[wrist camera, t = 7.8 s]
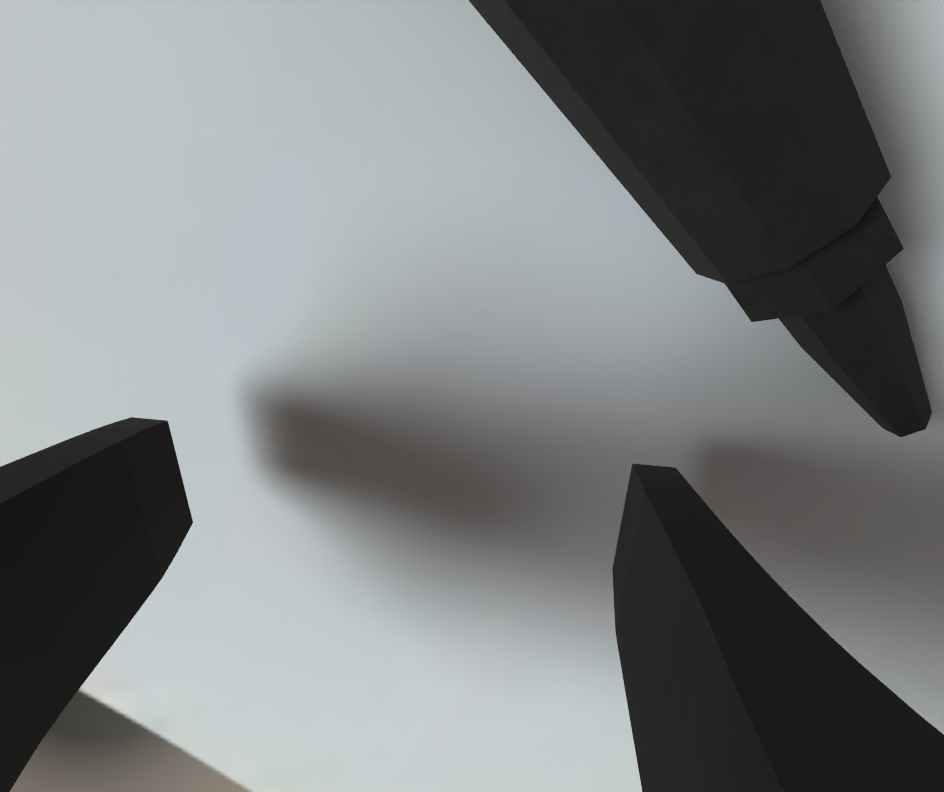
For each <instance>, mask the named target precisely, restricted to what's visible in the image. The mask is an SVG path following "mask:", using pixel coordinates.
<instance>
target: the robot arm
mask: <svg viewBox="0 0 944 792" xmlns="http://www.w3.org/2000/svg"><path fill="white" fill-rule="evenodd" d="M192 523H193V521H192V517H191V513H190V509H189V505H188V501H187V497H186V493H185V489H184V485H183V481H182V477H181V473H180V469H179V465H178V461H177V457H176V453H175V449H174V445H173V441H172V437H171V433H170V429H169V425H168V421H164V420H153V419H142V418H128V419H125V420H121V421H118V422H115V423H112V424H109V425H106V426H103V427H100V428H97V429H95V430H92V431H89V432H86V433H84V434H81V435H79V436H76V437H73V438H71V439H68V440H66V441H63V442H61V443H58V444H56V445H53V446H51V447H48V448H46V449H43V450H41V451H38V452H36V453H33V454H31V455H29V456H26V457H24V458H21V459H19V460H16V461H14V462H11V463H9V464H6V465H4V466H1V467H0V792H9V791H10V790H11V788H12V787H13V785H14V783H15V782H16V780H17V779H18V777H19V775H20V774H21V772H22V771H23V769H24V767H25V766H26V764H27V763H28V761H29V759H30V758H31V756H32V755H33V753H34V751H35V750H36V748H37V747H38V745H39V744H40V742H41V741H42V739H43V737H44V736H45V735H46V733H47V732H48V730H49V729H50V728H51V726H52V725H53V723H54V722H55V721H56V719H57V718H58V716H59V715H60V713H61V712H62V711H63V709H64V708H65V707H66V705H67V704H68V703H69V701H70V700H71V699H72V697H73V696H74V695H75V693H76V692H77V691H78V689H79V688H80V687H81V685H82V684H83V683H84V682H85V680H86V679H87V678H88V676H89V675H90V674H91V672H92V671H93V670H94V668H95V667H96V666H97V664H98V663H99V662H100V660H101V659H102V658H103V656H104V655H105V654H106V653H107V651H108V650H109V649H110V647H111V646H112V645H113V643H114V642H115V641H116V639H117V638H118V637H119V635H120V634H121V633H122V631H123V630H124V629H125V628H126V626H127V625H128V624H129V622H130V621H131V620H132V618H133V617H134V616H135V614H136V613H137V611H138V610H139V609H140V607H141V606H142V605H143V603H144V602H145V601H146V599H147V598H148V597H149V595H150V594H151V593H152V591H153V590H154V588H155V587H156V586H157V584H158V583H159V582H160V580H161V579H162V577H163V576H164V574H165V572H166V570H167V569H168V567H169V565H170V564H171V562H172V560H173V558H174V557H175V555H176V553H177V552H178V550H179V548H180V546H181V544H182V542H183V540H184V538H185V536H186V535H187V533H188V531H189V529H190V527H191V525H192ZM613 587H614V609H615V627H616V636H617V643H618V649H619V655H620V661H621V667H622V673H623V680H624V686H625V692H626V697H627V703H628V709H629V715H630V721H631V727H632V733H633V739H634V745H635V750H636V756H637V762H638V768H639V774H640V780H641V786H642V792H944V735H943V734H942V733H941V732H940V731H938V730H937V729H936V728H935V727H933V726H932V725H931V724H930V723H928V722H927V721H926V720H925V719H924V718H922V717H921V716H920V715H919V714H918V713H916V712H915V711H914V710H913V709H912V708H911V707H909V706H908V705H907V704H906V703H905V702H904V701H903V700H901V699H900V698H899V697H898V696H897V695H896V694H894V693H893V692H892V691H891V690H890V689H889V688H888V687H886V686H885V685H884V684H883V683H882V682H881V681H879V680H878V679H877V678H876V677H875V676H874V675H873V674H871V673H870V672H869V671H868V670H867V669H866V668H864V667H863V666H862V665H861V664H860V663H859V662H858V661H856V660H855V659H854V658H853V657H852V656H851V655H850V654H849V653H848V652H847V651H846V650H845V649H843V648H842V647H841V646H840V645H839V644H838V643H837V642H836V641H835V640H834V639H833V638H832V637H831V636H829V635H828V634H827V633H826V632H825V631H824V630H823V629H822V628H821V627H820V626H819V625H818V624H817V623H816V622H815V621H814V620H813V619H812V618H811V617H810V616H809V615H808V614H807V613H806V612H805V611H804V610H803V609H802V608H801V607H800V606H799V605H798V604H797V603H796V602H795V601H794V600H793V599H792V598H791V597H790V596H789V595H788V594H787V593H786V592H785V591H784V590H783V589H782V588H781V587H780V586H779V585H778V584H777V583H776V582H775V581H774V580H773V579H772V578H771V577H770V575H769V574H768V573H767V572H766V571H765V570H764V569H763V568H762V567H761V566H760V565H759V564H758V563H757V562H756V560H755V559H754V558H753V557H752V556H751V555H750V554H749V553H748V552H747V551H746V549H745V548H744V547H743V546H742V545H741V544H740V543H739V542H738V541H737V539H736V538H735V537H734V536H733V535H732V534H731V533H730V531H729V530H728V529H727V528H726V527H725V526H724V525H723V523H722V522H721V521H720V520H719V519H718V518H717V516H716V515H715V514H714V513H713V512H712V511H711V509H710V508H709V507H708V506H707V505H706V503H705V502H704V501H703V500H702V499H701V497H700V496H699V495H698V494H697V493H696V492H695V490H694V489H693V488H692V487H691V486H690V484H689V483H688V482H687V481H686V480H685V478H684V477H683V476H682V475H681V474H680V473H679V471H678V470H677V469H676V468H672V467H661V466H650V465H639V464H632V469H631V474H630V479H629V485H628V490H627V495H626V501H625V506H624V511H623V516H622V522H621V527H620V532H619V538H618V543H617V548H616V554H615V559H614V564H613Z"/></svg>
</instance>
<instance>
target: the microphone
mask: <svg viewBox="0 0 944 792" xmlns="http://www.w3.org/2000/svg"><path fill="white" fill-rule="evenodd" d="M469 1H470V2H471V4H472V5H473V6H474V7H475V8H476V10H477V11H478V12H479V13H480V14H481V16H482V17H483V18H484V19H485V20H486V22H487V23H488V24H489V25H490V26H491V28H492V29H493V30H494V31H495V32H496V34H497V35H498V36H499V37H500V38H501V40H502V41H503V42H504V43H505V44H506V46H507V47H508V48H509V49H510V50H511V52H512V53H513V54H514V55H515V56H516V58H517V59H518V60H519V61H520V62H521V64H522V65H523V66H524V67H525V68H526V70H527V71H528V72H529V73H530V74H531V76H532V77H533V78H534V79H535V80H536V82H537V83H538V84H539V85H540V86H541V88H542V89H543V90H544V91H545V92H546V94H547V95H548V96H549V97H550V98H551V100H552V101H553V102H554V103H555V104H556V106H557V107H558V108H559V109H560V110H561V112H562V113H563V114H564V115H565V116H566V118H567V119H568V120H569V121H570V122H571V124H572V125H573V126H574V127H575V129H576V130H577V131H578V132H579V133H580V135H581V136H582V137H583V138H584V139H585V141H586V142H587V143H588V144H589V145H590V147H591V148H592V149H593V150H594V151H595V153H596V154H597V155H598V156H599V157H600V159H601V160H602V161H603V162H604V163H605V165H606V166H607V167H608V168H609V169H610V171H611V172H612V173H613V174H614V175H615V177H616V178H617V179H618V180H619V181H620V183H621V184H622V185H623V186H624V187H625V189H626V190H627V191H628V192H629V193H630V195H631V196H632V197H633V198H634V199H635V201H636V202H637V203H638V204H639V205H640V207H641V208H642V209H643V210H644V211H645V213H646V214H647V215H648V216H649V217H650V219H651V220H652V221H653V222H654V223H655V225H656V226H657V227H658V228H659V229H660V231H661V232H662V233H663V234H664V235H665V237H666V238H667V239H668V240H669V241H670V243H671V244H672V245H673V246H674V247H675V249H676V250H677V251H678V252H679V253H680V255H681V256H682V257H683V258H684V259H685V261H686V262H687V263H688V264H689V265H690V267H691V268H692V269H693V270H694V271H695V273H696V274H699V275H702V276H705V277H708V278H711V279H714V280H717V281H719V282H722V283H725V285H726V286H727V287H728V289H729V290H730V292H731V293H732V295H733V296H734V297H735V299H736V300H737V302H738V303H739V304H740V306H741V307H742V309H743V310H744V312H745V313H746V314H747V316H748V317H749V319H750V320H751V322H755V321H762V320H770V319H777V318H779V320H780V321H781V322H782V323H783V325H784V326H785V327H786V328H787V330H788V331H789V332H790V333H791V335H792V336H793V337H794V338H795V340H796V341H797V342H798V344H799V345H800V346H801V347H802V348H803V349H804V350H805V351H806V352H807V353H808V354H809V355H810V356H811V357H812V358H813V359H814V360H815V361H816V362H817V363H818V364H819V365H820V366H821V367H822V368H823V369H824V370H825V371H826V372H827V373H828V374H829V375H830V376H831V377H832V378H833V379H834V380H835V381H836V382H837V383H838V384H839V385H840V386H841V387H842V388H843V389H844V390H845V391H846V392H847V393H848V394H849V395H850V396H851V397H852V398H853V399H854V400H855V401H856V402H857V403H858V404H859V405H860V406H861V407H862V408H863V409H864V410H865V411H866V412H867V413H868V414H869V415H870V416H871V417H872V418H873V419H874V420H875V421H876V422H877V423H878V424H879V425H880V426H881V427H882V428H884V429H886V430H888V431H889V432H891V433H893V434H895V435H897V436H899V437H903V436H906V435H909V434H912V433H915V432H918V431H921V430H924V429H926V427H927V424H928V421H929V418H930V415H931V412H932V411H931V407H930V404H929V400H928V396H927V393H926V389H925V385H924V382H923V378H922V374H921V371H920V367H919V363H918V360H917V356H916V352H915V349H914V345H913V341H912V338H911V334H910V330H909V327H908V323H907V319H906V316H905V312H904V308H903V305H902V302H901V300H900V297H899V295H898V293H897V290H896V288H895V286H894V284H893V281H892V279H891V277H890V274H889V272H888V270H887V267H886V265H885V264H887V263H888V262H889V261H890V260H891V259H892V258H893V257H895V256H896V255H897V254H898V253H899V252H900V251H901V250H903V249H904V248H903V246H902V244H901V242H900V240H899V239H898V237H897V235H896V233H895V231H894V229H893V227H892V225H891V223H890V221H889V219H888V217H887V215H886V213H885V212H884V210H883V208H882V206H881V204H880V202H879V200H878V198H877V195H878V194H879V193H880V191H881V190H882V189H883V187H884V186H885V185H886V183H887V182H888V180H889V179H890V178H891V176H890V173H889V171H888V168H887V166H886V163H885V161H884V158H883V156H882V153H881V151H880V148H879V146H878V143H877V141H876V138H875V136H874V133H873V131H872V128H871V126H870V123H869V121H868V118H867V116H866V114H865V111H864V109H863V106H862V104H861V101H860V99H859V96H858V94H857V91H856V89H855V86H854V84H853V81H852V79H851V76H850V74H849V71H848V69H847V66H846V64H845V61H844V59H843V56H842V54H841V51H840V49H839V46H838V44H837V42H836V39H835V37H834V34H833V32H832V29H831V27H830V24H829V22H828V19H827V17H826V14H825V12H824V9H823V7H822V4H821V2H820V0H469Z"/></svg>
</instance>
